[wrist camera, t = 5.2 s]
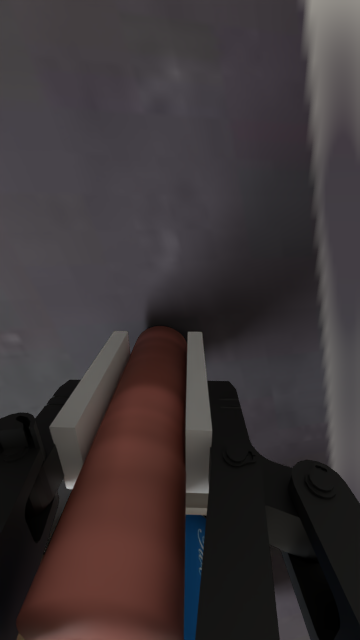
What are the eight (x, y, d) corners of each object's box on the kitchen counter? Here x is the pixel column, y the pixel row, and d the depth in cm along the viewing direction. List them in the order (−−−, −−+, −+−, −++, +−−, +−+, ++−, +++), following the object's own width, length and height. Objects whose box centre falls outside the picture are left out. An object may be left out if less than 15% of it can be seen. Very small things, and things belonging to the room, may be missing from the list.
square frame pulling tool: (79, 325, 14) (-185, 583, 4) (243, 326, 14) (384, 610, 4) (121, 545, 23) (67, 799, 13) (222, 549, 23) (248, 814, 13)
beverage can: (223, 523, 22) (259, 839, 11) (168, 546, 24) (150, 838, 12) (177, 484, 20) (163, 815, 9) (121, 512, 22) (51, 818, 11)
